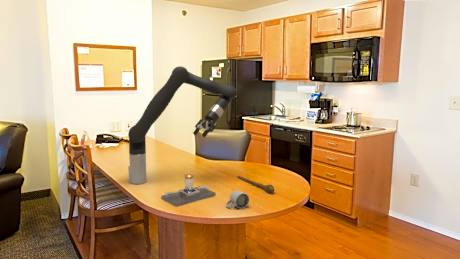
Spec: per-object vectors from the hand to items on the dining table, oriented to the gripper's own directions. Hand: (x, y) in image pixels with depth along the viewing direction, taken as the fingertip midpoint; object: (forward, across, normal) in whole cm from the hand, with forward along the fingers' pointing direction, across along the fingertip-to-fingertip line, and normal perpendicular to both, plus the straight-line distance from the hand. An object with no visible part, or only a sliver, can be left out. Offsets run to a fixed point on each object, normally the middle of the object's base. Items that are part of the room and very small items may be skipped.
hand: (198, 135), depth 190 cm
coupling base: (+32, +14, +9) cm, 36 cm away
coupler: (+31, +14, +8) cm, 35 cm away
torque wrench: (+4, +22, +37) cm, 43 cm away
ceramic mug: (+25, +39, +16) cm, 49 cm away
